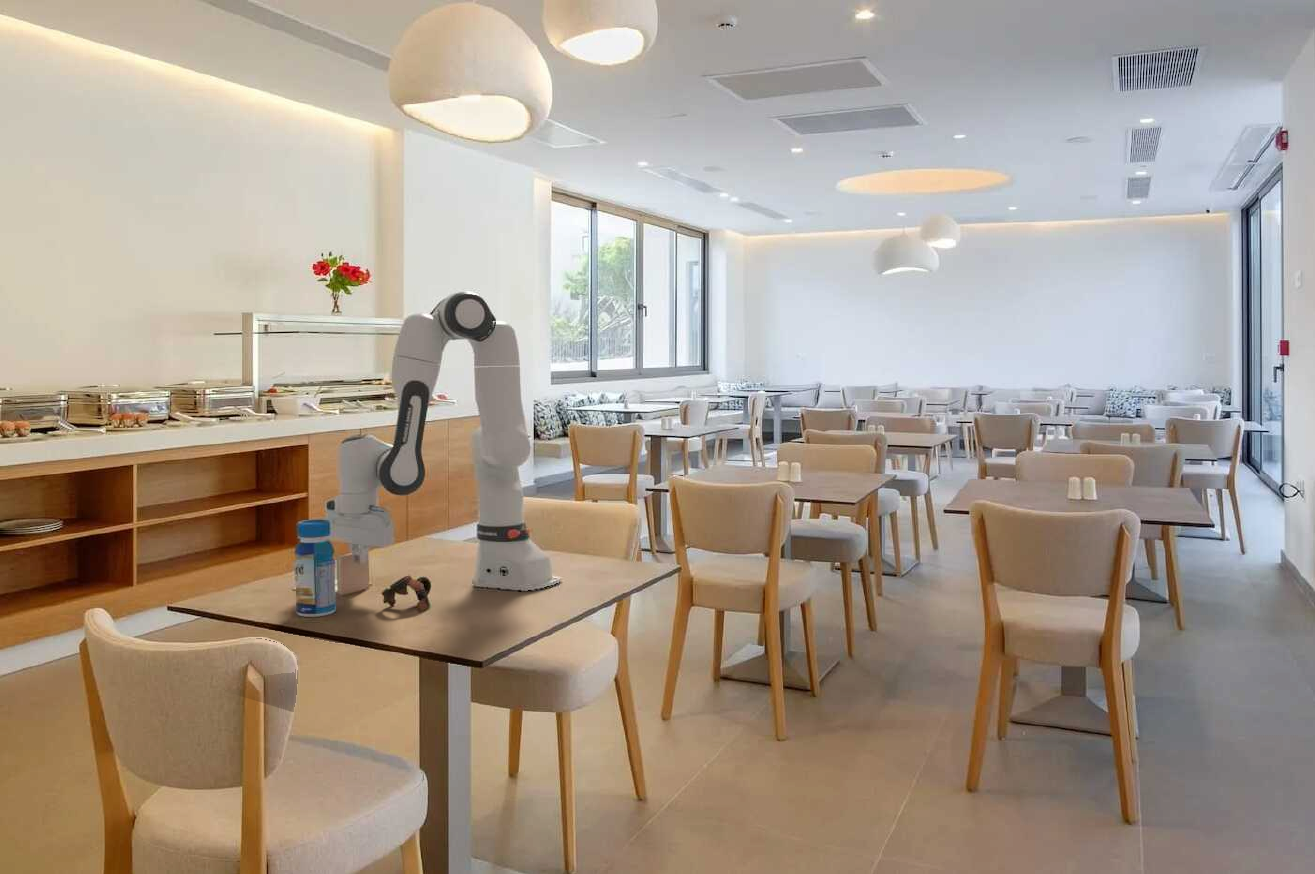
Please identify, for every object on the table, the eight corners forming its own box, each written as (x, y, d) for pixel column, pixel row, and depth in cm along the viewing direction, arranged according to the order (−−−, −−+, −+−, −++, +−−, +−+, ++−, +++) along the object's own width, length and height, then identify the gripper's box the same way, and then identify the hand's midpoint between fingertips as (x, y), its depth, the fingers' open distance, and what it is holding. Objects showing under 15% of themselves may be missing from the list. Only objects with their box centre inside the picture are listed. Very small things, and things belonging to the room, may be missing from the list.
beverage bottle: (336, 616, 211) (333, 523, 210) (294, 619, 209) (291, 525, 207) (337, 606, 219) (334, 517, 218) (296, 609, 217) (293, 519, 215)
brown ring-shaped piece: (417, 617, 212) (396, 585, 211) (389, 631, 217) (369, 599, 216) (449, 591, 222) (429, 561, 221) (421, 605, 227) (402, 575, 226)
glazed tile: (369, 588, 237) (368, 551, 237) (342, 594, 231) (340, 556, 230) (364, 587, 238) (363, 550, 238) (337, 594, 232) (336, 556, 231)
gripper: (399, 505, 228) (400, 564, 229) (341, 499, 239) (342, 555, 240) (378, 509, 223) (379, 569, 224) (319, 502, 234) (321, 559, 235)
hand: (359, 562), depth 232 cm, fingers closed
